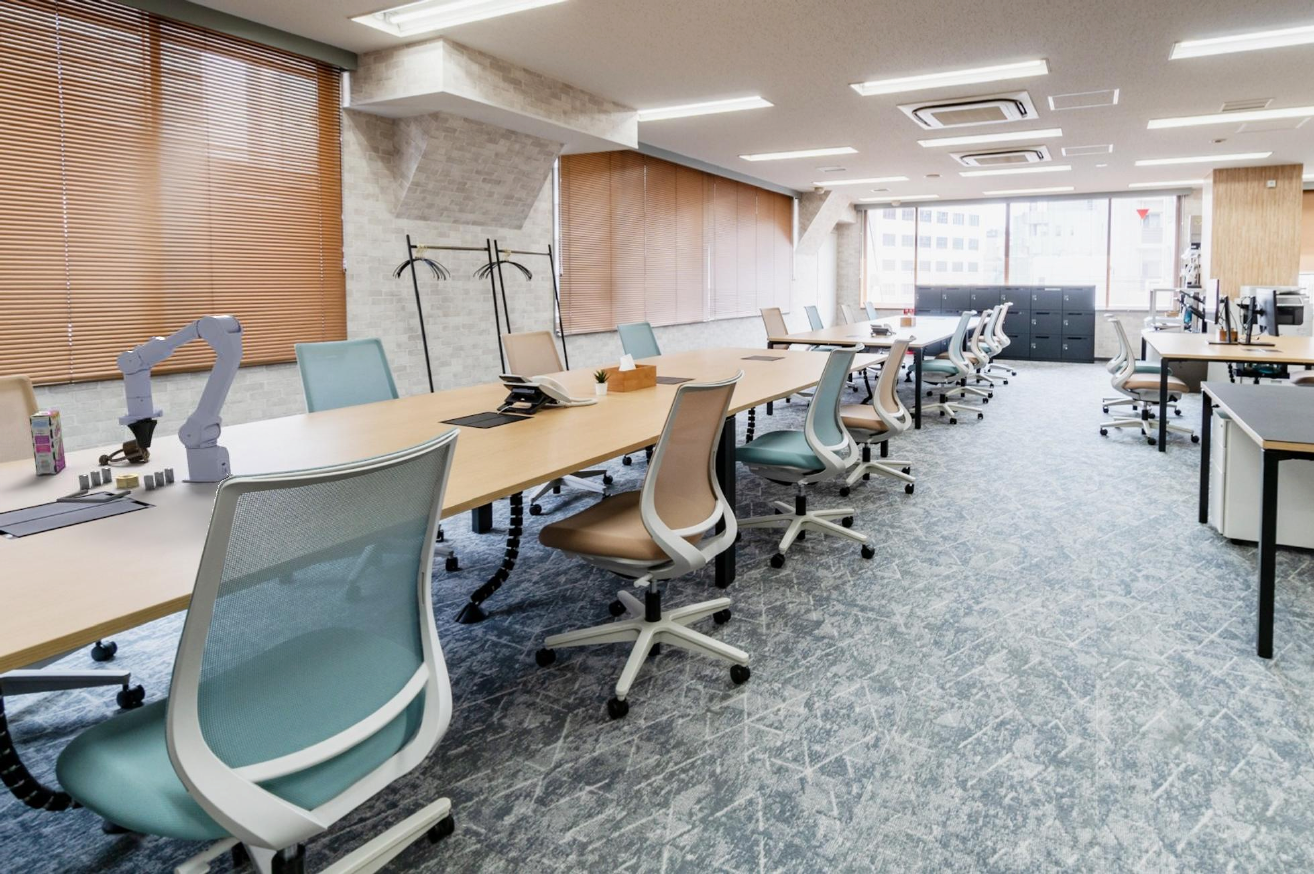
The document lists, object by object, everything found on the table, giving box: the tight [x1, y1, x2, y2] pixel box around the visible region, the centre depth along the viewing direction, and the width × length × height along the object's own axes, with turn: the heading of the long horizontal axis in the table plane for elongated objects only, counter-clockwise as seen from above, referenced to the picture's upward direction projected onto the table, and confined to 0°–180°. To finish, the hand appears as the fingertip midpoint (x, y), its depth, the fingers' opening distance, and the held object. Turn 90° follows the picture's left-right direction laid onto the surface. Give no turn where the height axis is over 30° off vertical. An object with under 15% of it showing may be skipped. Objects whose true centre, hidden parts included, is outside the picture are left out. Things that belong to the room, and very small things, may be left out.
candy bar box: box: [28, 410, 67, 476], centre depth 228 cm, size 11×5×16 cm, turn 25°
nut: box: [115, 473, 140, 489], centre depth 212 cm, size 5×5×2 cm
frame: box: [56, 489, 132, 503], centre depth 200 cm, size 12×9×1 cm
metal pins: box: [78, 467, 175, 491], centre depth 212 cm, size 19×10×4 cm, turn 87°
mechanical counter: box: [98, 438, 151, 466], centre depth 240 cm, size 7×13×10 cm
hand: (145, 447), depth 219 cm, fingers closed
